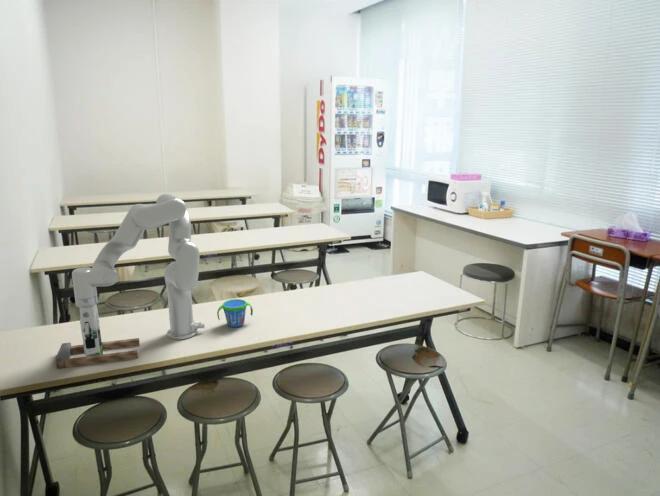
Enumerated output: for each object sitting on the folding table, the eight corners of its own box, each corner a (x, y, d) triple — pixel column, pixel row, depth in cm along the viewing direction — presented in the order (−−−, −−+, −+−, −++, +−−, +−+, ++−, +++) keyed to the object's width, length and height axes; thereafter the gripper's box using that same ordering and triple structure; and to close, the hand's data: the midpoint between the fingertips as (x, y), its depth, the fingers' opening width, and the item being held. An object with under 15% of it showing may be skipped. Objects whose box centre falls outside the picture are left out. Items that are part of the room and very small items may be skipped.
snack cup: (218, 331, 213) (217, 309, 210) (217, 321, 223) (216, 300, 220) (254, 327, 216) (253, 306, 214) (252, 318, 226) (251, 297, 224)
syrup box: (87, 359, 186) (82, 324, 182) (84, 353, 190) (79, 319, 186) (103, 355, 189) (99, 320, 185) (100, 349, 193) (95, 315, 190)
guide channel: (139, 343, 200) (138, 334, 199) (137, 358, 188) (136, 348, 187) (63, 352, 192) (62, 343, 191) (56, 368, 180) (54, 358, 179)
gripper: (94, 307, 177) (100, 352, 181) (100, 291, 193) (105, 332, 197) (71, 309, 174) (77, 355, 179) (79, 293, 190) (85, 335, 195)
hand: (92, 343), depth 188 cm, fingers closed on syrup box, 7 cm apart
